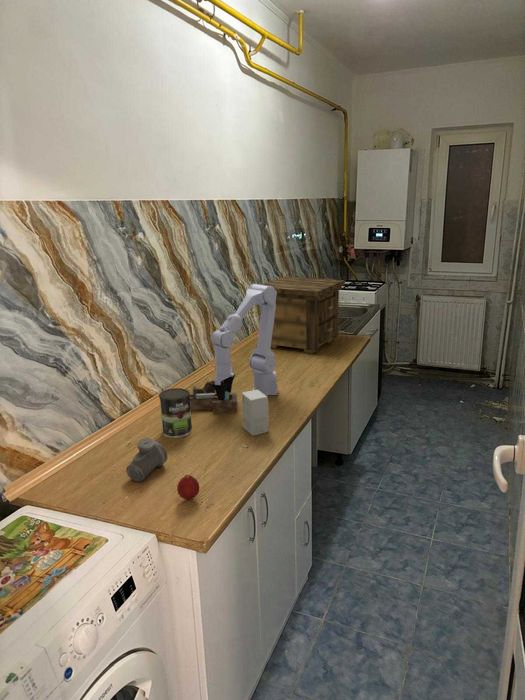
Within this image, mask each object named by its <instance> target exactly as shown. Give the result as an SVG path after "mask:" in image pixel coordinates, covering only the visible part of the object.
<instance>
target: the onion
mask: <svg viewBox="0 0 525 700" xmlns="http://www.w3.org/2000/svg"><path fill="white" fill-rule="evenodd" d="M176 491H177V494H178V495H179V497H180V498H182V499H183V500H185V501H188V502H190V500H191V501H192V500H193V499H195V498H196V497H197V495H198V494H199V491H200V484H199V481H198V480H197V478H195V477H194V476H192V475H190V474H189V473H186V474H185V475H184V476H182V477H181V478H180V480H179V481H178V483H177V490H176Z"/></svg>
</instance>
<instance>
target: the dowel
mask: <svg viewBox="0 0 525 700" xmlns="http://www.w3.org/2000/svg"><path fill="white" fill-rule="evenodd" d="M224 400H229V392H228V391H225V399H224ZM220 401H221V400H220Z"/></svg>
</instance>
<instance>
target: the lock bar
mask: <svg viewBox="0 0 525 700" xmlns="http://www.w3.org/2000/svg"><path fill="white" fill-rule="evenodd" d="M196 389H197V386H196V385H193V387H192V394H193V399H194V400H196V399H203V398H213V396H215V393H216V392H213V393H207V394H197V392H196Z"/></svg>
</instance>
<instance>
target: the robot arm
mask: <svg viewBox="0 0 525 700" xmlns="http://www.w3.org/2000/svg"><path fill="white" fill-rule="evenodd" d="M276 295H277V292H276V290H275V289H274V288H273V287H272V286H265V285H261V284H259V283H252V284H251V285H249V287H248V289H247V290H246V293H245V297H244V298H243V300H242V302H241V303H240V305H239V306H238V307H237V310H235V313H234V314H233V313H231V314H230V315H228V316H227V317H226V320H224V322H223V323H222V325H221V326H219V327H220V328H219V329H217V330H215V331H213V333H212V335H211V338H210V343H211V344H212V345H213V350H214V361H215V379H214V381H215V382H213V383H212V386H213V387H214V389H215V391H214V392H215V393H217V397H218V400H222V401H224V399H225V391H228V392H229V393H232V387H233V382H234V380H235V378H236V374H235V373H234V372H233V367H232V360H231V346H232V344H233V343H234V339H235V335H236V333H237V332H238V331H239V329H241V327H242V325H243V319H244V318H245V317H246V316H247V314H248V313H249V312H250V311H251V310H252V309H253V307H254V306H257V305H258V306H259V307H260V320H259V328H258V335H257V344H256V347H255V348H254V349H253V350H251V356H250V357H249V359H248V360H249V361H248V365H249V367H250V368H251V369H252V372H253V387H252V390H259V391H260V392H262V393H263V394H264V395H266V396H278V381H277V380H278V379H277V378H278V377H277V371H276V370H275V368H276V358H275V357H276V355H275V353H274V351H273V350H272V348H271V340H272V332H273V325H274V317H275V309H276ZM261 309H262V310H261Z"/></svg>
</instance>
